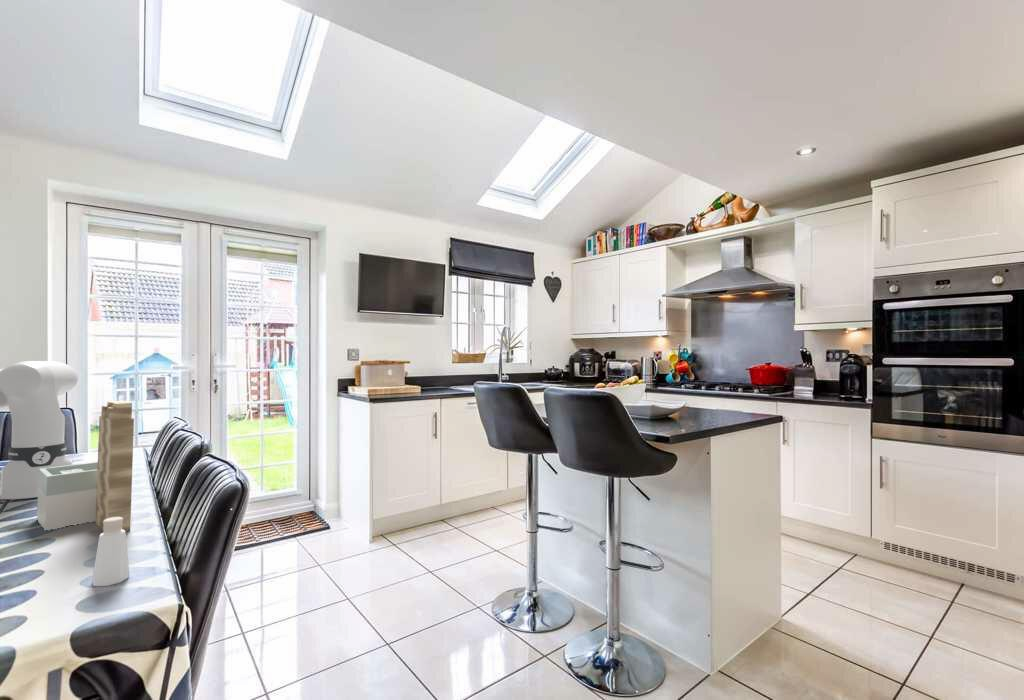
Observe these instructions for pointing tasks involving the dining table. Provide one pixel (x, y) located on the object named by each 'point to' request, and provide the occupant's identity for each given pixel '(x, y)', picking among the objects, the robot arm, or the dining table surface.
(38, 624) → the dining table surface
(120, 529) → the pepper shaker
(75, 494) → the raised tray
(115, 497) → the tan wooden tall block
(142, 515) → the dining table surface
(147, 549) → the dining table surface
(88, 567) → the dining table surface
